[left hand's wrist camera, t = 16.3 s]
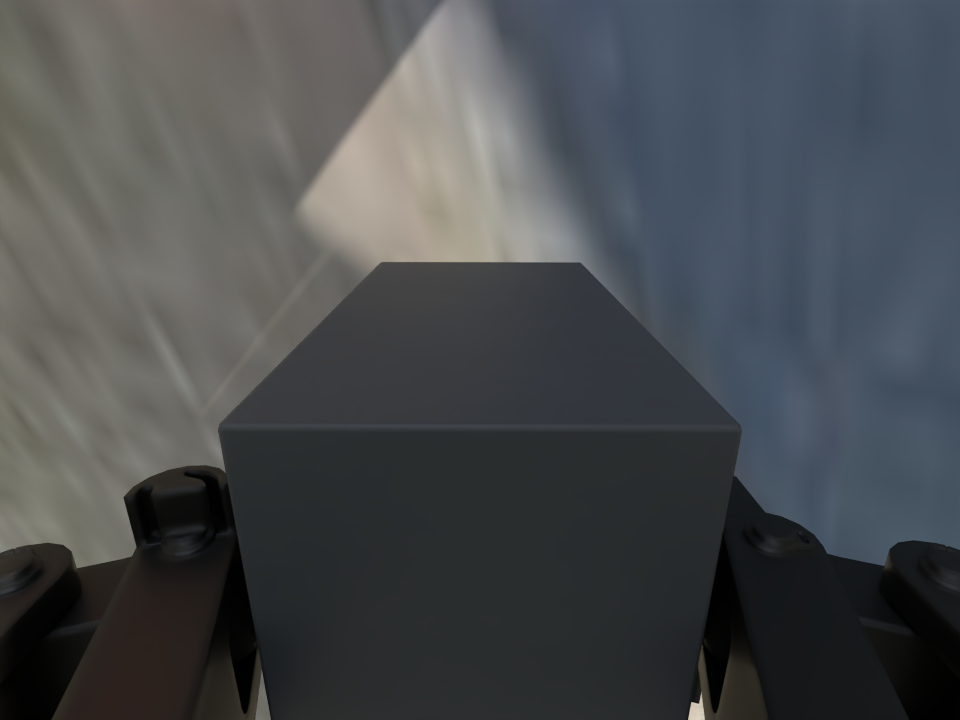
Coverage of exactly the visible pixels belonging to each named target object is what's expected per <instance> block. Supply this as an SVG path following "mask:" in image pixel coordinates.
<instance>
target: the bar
mask: <svg viewBox="0 0 960 720" xmlns="http://www.w3.org/2000/svg"><path fill="white" fill-rule="evenodd" d="M218 432H219V437H220V443H221V448H222V453H223V459H224V464H225V470H226V475H227V481H228V486H229V492H230V497H231V503H232V508H233V514H234V519H235V525H236V530H237V535H238V541H239V546H240V552H241V557H242V563H243V568H244V574H245V579H246V585H247V590H248V596H249V601H250V607H251V612H252V618H253V623H254V628H255V634H256V639H257V645H258V650H259V656H260V661H261V667H262V672H263V678H264V683H265V689H266V694H267V700H268V705H269V710H270V716H271V720H688V717H689V711H690V706H691V700H692V695H693V690H694V684H695V679H696V674H697V668H698V663H699V657H700V652H701V647H702V641H703V636H704V631H705V625H706V620H707V615H708V609H709V604H710V598H711V593H712V588H713V582H714V577H715V572H716V566H717V561H718V556H719V550H720V545H721V539H722V534H723V529H724V523H725V518H726V513H727V507H728V502H729V496H730V491H731V486H732V480H733V475H734V470H735V464H736V459H737V454H738V448H739V443H740V437H741V427H740V425H739V423H738V422H737V421H736V420H735V419H734V418H733V417H732V416H731V415H730V414H729V413H728V412H727V411H726V410H725V409H724V408H723V407H722V406H721V405H720V404H719V403H718V402H717V401H716V400H715V399H714V398H713V397H712V396H711V395H710V394H709V393H708V392H707V391H706V390H705V389H704V388H703V387H702V386H701V385H700V384H699V383H698V382H697V381H696V380H695V379H694V378H693V377H692V376H691V375H690V374H689V373H688V372H687V371H686V370H685V369H684V368H683V367H682V365H681V364H680V363H679V362H678V361H677V360H676V359H675V358H674V357H673V356H672V355H671V354H670V353H669V352H668V351H667V350H666V349H665V348H664V347H663V346H662V345H661V344H660V343H659V342H658V341H657V340H656V339H655V338H654V337H653V336H652V335H651V334H650V333H649V332H648V331H647V330H646V329H645V328H644V327H643V326H642V325H641V324H640V323H639V322H638V321H637V320H636V319H635V318H634V317H633V316H632V315H631V314H630V313H629V312H628V311H627V310H626V309H625V308H624V306H623V305H622V304H621V303H620V302H619V301H618V300H617V299H616V298H615V297H614V296H613V295H612V294H611V293H610V292H609V291H608V290H607V289H606V288H605V287H604V286H603V285H602V284H601V283H600V282H599V281H598V280H597V279H596V278H595V277H594V276H593V275H592V274H591V273H590V272H589V271H588V270H587V269H586V268H585V267H584V266H583V265H582V264H581V263H513V262H382V263H380V264H379V265H378V266H377V267H376V268H375V269H374V270H373V271H372V272H371V273H370V274H369V275H368V276H367V277H366V278H365V279H364V280H363V281H362V282H361V283H360V284H359V285H358V286H357V287H356V288H355V289H354V290H353V291H352V292H351V293H350V294H349V295H348V296H347V297H346V298H345V299H344V300H343V301H342V302H341V303H340V304H339V305H338V306H337V307H336V308H335V309H334V310H333V311H332V312H331V313H330V314H329V315H328V316H327V317H326V318H325V319H324V320H323V321H322V322H321V323H320V324H319V325H318V326H317V327H316V328H315V329H314V330H313V331H312V332H311V333H310V334H309V335H308V336H307V337H306V338H305V339H304V340H303V341H302V342H301V343H300V344H299V345H298V346H297V347H296V348H295V349H294V350H293V351H292V352H291V353H290V354H289V355H288V356H287V357H286V358H285V359H284V360H283V361H282V362H281V363H280V364H279V365H278V366H277V367H276V368H275V369H274V370H273V371H272V372H271V373H270V374H269V375H268V376H267V377H266V378H265V379H264V380H263V381H262V382H261V383H260V384H259V385H258V386H257V387H256V388H255V389H254V390H253V391H252V392H251V393H250V394H249V395H248V396H247V397H246V398H245V399H244V400H243V401H242V402H241V403H240V404H239V405H238V406H237V407H236V408H235V409H234V410H233V411H232V412H231V413H230V414H229V415H228V416H227V417H226V418H225V419H224V420H223V421H222V422H221V423H220V425H219V430H218Z"/></svg>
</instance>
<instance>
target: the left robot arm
mask: <svg viewBox="0 0 960 720" xmlns="http://www.w3.org/2000/svg"><path fill="white" fill-rule="evenodd" d="M124 501H125V505H126V508H127V512H128V516H129V520H130V524H131V527H132V531H133V535H134V539H135V542H136V546H137V548H136V550H135V552H134V554H133V556H132V557H129V558H125V559H121V560H116V561H111V562H106V563H101V564H96V565H92V566H87V567H82V568H77V567H76V564H75V561H74V558H73V555H72V552H71V551H70V550H69V549H68V548H66V547H65V546H64V545H59V544H52V543H43V544H35V545H26V546H22V547H18V548H16V549H11V550H8V551H5V552H2V553H0V720H255V716H256V708H257V701H258V693H259V685H260V678H261V670H262V667H261V661H260V656H259V650H258V645H257V639H256V634H255V628H254V623H253V618H252V612H251V607H250V601H249V596H248V590H247V585H246V579H245V574H244V568H243V563H242V557H241V552H240V546H239V541H238V535H237V530H236V525H235V519H234V514H233V508H232V503H231V497H230V492H229V486H228V481H227V475H226V473H225V472H223V471H222V470H221V469H220V468H215V467H211V466H206V465H205V466H186V467H181V468H176V469H171V470H167V471H165V472H162V473H159V474H157V475H154V476H151V477H149V478H147V479H146V480H144V481H142V482H141V483H139V484H137V485H136V486H134V487H133V488H132V489H131V490H130V491H129V492H128V493H127V494H126V495H125V496H124ZM701 692H702V699H703V707H704V715H705V720H960V550H958V549H955V548H952V547H949V546H948V547H946V546H945V545H942V544H937V543H930V542H922V541H914V540H913V541H906V542H898V543H897V544H896V545H894V546H893V547H892V548H891V549H890V550H889V553H888V557H887V560H886V563H885V566H881V565H876V564H871V563H866V562H861V561H857V560H852V559H847V558H842V557H837V556H834V555H830V554H827V553H826V551H825V549H824V547H823V545H822V544H821V543H820V542H819V540H818V539H817V538H816V537H815V535H814V534H812V533H811V532H809V531H808V530H807V529H805V528H804V527H802V526H801V525H799V524H797V523H795V522H793V521H790V520H788V519H786V518H784V517H781V516H777V515H773V514H769V513H765V512H764V510H763V509H762V508H761V507H760V505H759V504H758V503H757V502H756V501H755V499H754V498H753V497H752V496H751V494H750V493H749V492H748V491H747V489H746V488H745V487H744V486H743V485H742V483H741V482H740V481H739V480H738V478H737V477H734V475H733V480H732V486H731V491H730V496H729V502H728V507H727V513H726V518H725V523H724V529H723V534H722V539H721V545H720V550H719V556H718V561H717V566H716V572H715V577H714V582H713V588H712V593H711V598H710V604H709V609H708V615H707V620H706V625H705V631H704V636H703V641H702V647H701V652H700V657H699V663H698V668H697V674H696V679H695V684H694V690H693V695H692V701H691V702H694V703H698V704H699V701H700V696H701Z"/></svg>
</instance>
